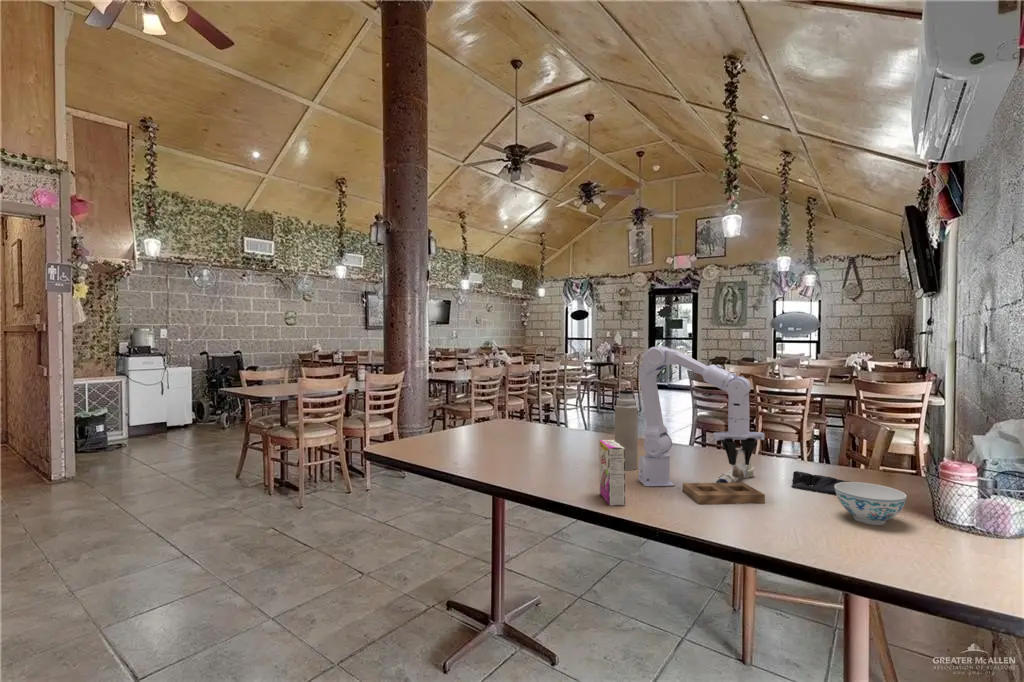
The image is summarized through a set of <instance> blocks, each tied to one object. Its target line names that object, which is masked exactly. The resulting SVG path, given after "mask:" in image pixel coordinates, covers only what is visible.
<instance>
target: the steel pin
mask: <svg viewBox="0 0 1024 682" xmlns="http://www.w3.org/2000/svg"><path fill="white" fill-rule="evenodd" d="M731 469H732V476H733V477H736V478H738V479H746V478H745V477H746V450H745V449H742V447H736V449H735V465H731Z"/></svg>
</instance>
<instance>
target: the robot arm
mask: <svg viewBox="0 0 1024 682" xmlns="http://www.w3.org/2000/svg"><path fill="white" fill-rule="evenodd" d="M670 365H678V366H680V367H682V368H684V369H688V370H690V371H692V372H694V373H696V374H698V375H700V376H702V379H703V381H704V382H706V383H708V385H709V384H710V385H712V386H714V387H716V388H718V389H720V390H721V391H726V393H727V395H728V402H727V404H728V405H727V412H728V413H727V423H728V425H727V426H728V427H727V431H720V432H719V431H718V432H713V433H712V439H713V440H715V441H721V444H722V446H723V449H724V450H725V454H726V456H727V460H728V464H729V465H731V466H732V465H735V449H736V448H737V445H738V444H737V442H736V441H738V440H740V443H741V448H742V449H745V450H746V465H749V461H751V456H752V454H753V452H754V451H755V449H756V447H757V445H758V440H761V441H765V440H766V439H765V437H766V436H765V432H761V431H760V432H759V431H757V432H756V431H750V395H749V393H750V392H751V390H752V385H751V382H750V380H748V379H747V378H746V377H744V376H743V375H739V376H737V375H738V373H736V372H731V371H728V370H726V369H724V368H722V367H723V366H722V365H720V364H716V365H715V364H710V365H706V364H705V363H702V362H700V361H698V360H696V359H694V358H693V357H691V356H689V355H687V354H685V353H683V352H681V351H678V350H677V349H674V348H671V347H669V346H664V345H663V346H652V347H649V348H648V349H647V350H646V351H645V352H644V354H643V355H642V362H641V364H640V367H639V368H638V369H639V370H638V378H639V385H640V391H641V392H640V393H641V398H642V404H643V411H644V417H645V422H646V429H645V433H644V439H645V440H644V442H643V450H644V451H645V453H646V454H645V455H640V456H639V458H638V479H637V480H638V481H639V482H640V483H641V484H642V485H643V486H644V487H673V486H674V487H675V483H673V482H672V481H671V476H670V474H671V473H670V472H671V471H670V469H671V466H670V465H671V459H670V458H671V456H670V455H671V454H670V450H671V449H672V447H673V439H672V438H671V436H670V435H669V433H668V429H667V427H666V426H665V423H664V418H663V414H662V407H661V401H660V395H659V389H658V383H657V376H658V374H659V373H660V372H661V371H662V370H663V369H665V368H667V367H668V366H670ZM734 440H736V441H734Z"/></svg>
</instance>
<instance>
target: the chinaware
mask: <svg viewBox="0 0 1024 682" xmlns="http://www.w3.org/2000/svg"><path fill="white" fill-rule="evenodd" d="M834 488H835V492H836V496H837V499H838V502H840V504H841V505H842V507H843V508H844V509H845V510H846V511H847V512H848V513H850V514H851V515H852V518H853V519H854V520H855V521H857V522H859V523H863V524H867V525H874V526H883V525H885V524H886V521H888V520H891V519H892V518H895V517H896V516H897V515H899V513H901V511H902V510H903V508H904V506H905V504H906V502H907V494H906V493H905V492H903V491H901V490H899V489H896V488H894V487H893V488H892V487H890V486H886V485H882V484H875V483H868V482H859V481H850V482H841V483H837V484H835V485H834Z"/></svg>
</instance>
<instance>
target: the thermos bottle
mask: <svg viewBox="0 0 1024 682" xmlns="http://www.w3.org/2000/svg"><path fill="white" fill-rule="evenodd" d="M618 393H619V394H618V399H616V405H615V406H614V440H615V441H616V442H618V443H619V444H620V445H621V446H623V447H624V448H625V471H635V470H634V469H636V470H638V405H636V403H637V402H636V399H635V398H634V391H633V390H628V389H627V390H626V389H625V390H623V389H622V390H619V392H618Z"/></svg>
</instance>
